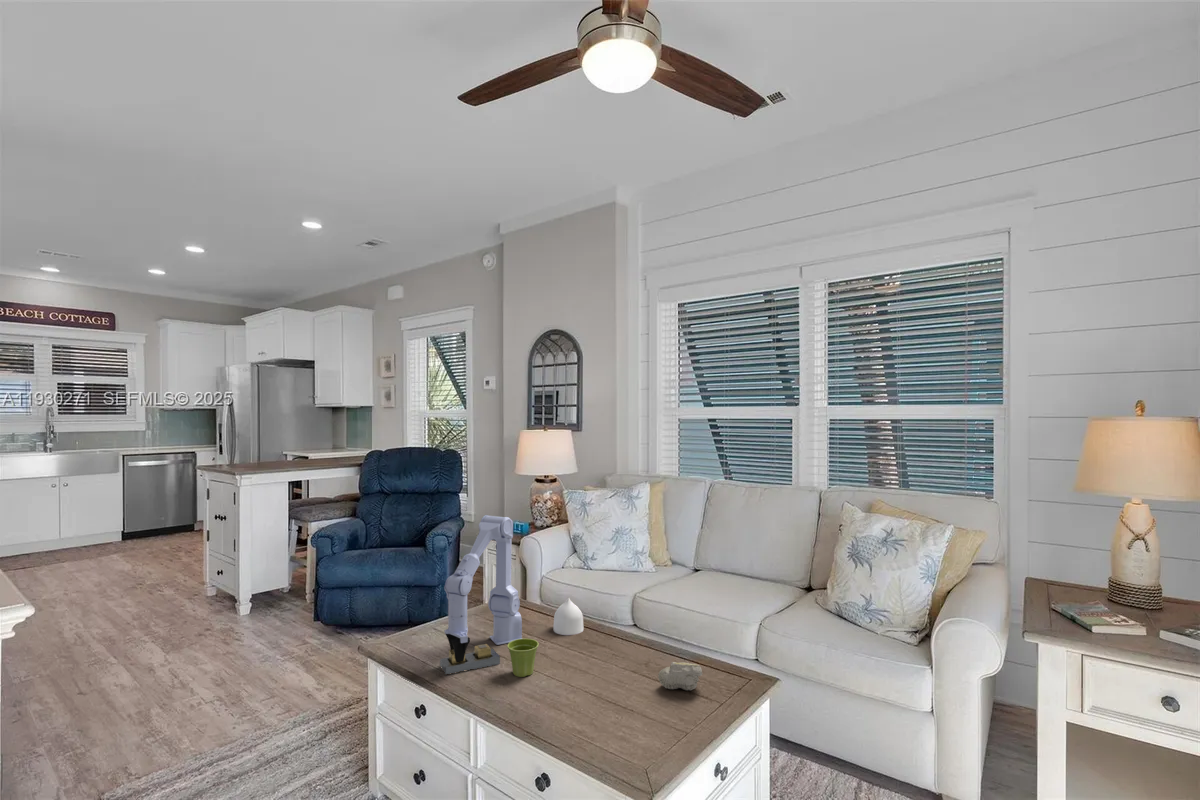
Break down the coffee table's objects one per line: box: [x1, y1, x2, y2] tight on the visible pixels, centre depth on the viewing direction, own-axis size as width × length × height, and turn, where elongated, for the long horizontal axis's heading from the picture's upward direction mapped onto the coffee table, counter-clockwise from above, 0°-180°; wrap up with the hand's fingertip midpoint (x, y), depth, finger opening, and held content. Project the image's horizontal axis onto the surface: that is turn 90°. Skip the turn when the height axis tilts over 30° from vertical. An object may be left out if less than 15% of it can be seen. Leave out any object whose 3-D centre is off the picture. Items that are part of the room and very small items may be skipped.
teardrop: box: [552, 596, 585, 636], centre depth 219 cm, size 11×11×12 cm
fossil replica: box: [657, 661, 703, 692], centre depth 173 cm, size 12×8×10 cm
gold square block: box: [448, 649, 465, 665], centre depth 186 cm, size 4×4×5 cm
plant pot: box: [506, 638, 540, 678], centre depth 183 cm, size 9×9×9 cm
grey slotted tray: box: [439, 648, 501, 675], centre depth 188 cm, size 17×7×2 cm, turn 119°
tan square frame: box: [474, 643, 492, 660], centre depth 190 cm, size 4×4×5 cm
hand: (457, 658), depth 186 cm, fingers closed on gold square block, 4 cm apart
